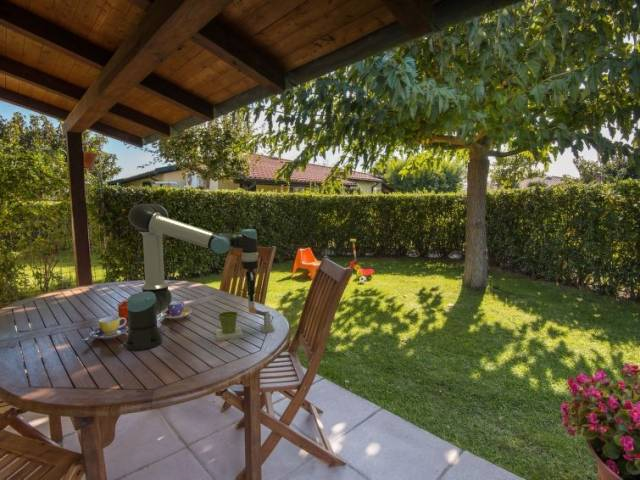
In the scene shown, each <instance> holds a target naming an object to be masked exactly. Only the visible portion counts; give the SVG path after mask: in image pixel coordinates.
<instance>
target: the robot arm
mask: <svg viewBox="0 0 640 480" xmlns="http://www.w3.org/2000/svg"><path fill="white" fill-rule="evenodd" d="M127 216H128V221H129V223H130V224H131V226H133V227H134V228H135V229H138V232H139V233H140V234H141V235H142V246H143V247H142V249H143V261H144V280H145V281H144V282H145V283H144V285H143V286H141V291H139V292H137V293H136V292H135V293H134V294H132V295H130V296H129V297H128V298H127V301H126V302H127V303H126V308H127V309H126V310H127V316H128V317H127V320H128V332H127V336H126V339H125V349H127V350H128V351H132V350H135V351H134V352H136V351H137V352H138V351H145V349H146V350H149V349H153V348H156V347H157V346H159V345H161V344H162V343H163V335H162V333H161V330H160V328H159V326H158V314H160V313H162V312H164V311H165V310H167V308H169V306H170V305H171V303H172V301H173V294H172V292H171V290H169V284H168V283H166V281H165V266H164V246H163V245H164V244H163V235H165V236H169V237H172V238H174V239H178V240H182V241H183V242H188V243H190V244H193V245H197V246H201V247H203V248H206V249H209V250H211V251H213V253H215V254H225V253H227V252H228V251H229V250H236V249H237V250H241V260H242V263H241V264H242V265H241V267H242V269H244V270H246V272H245V276H246V288H247V293H246V295H247V300H248V302H247V305H248V306H247V307H248V309H249V308H251V307H254V308H255V293H256V292H255V280H256V272H255V271H254V270H256V269H258V267H259V263H258V262H259V261H258V258H259V257H258V256H259V255H260V254H259V253H258V234H257V233H258V232H257V230H256V229H253V228H244V229H241V231H240V233H226V232H224V233H216V232H213V231H210V230H207V229H203V228H201V227H197V226H194V225H192V224H189V223H185V222H182V221H179V220H176V219H173V218H170V217H169V213H168V211H167V209H166V208H165V207H164V206H162V205H160V204H156V203H139V204H136V205H134V206H132V207H131V208H130V210H129V211H128V215H127Z"/></svg>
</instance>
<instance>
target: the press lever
mask: <svg viewBox="0 0 640 480" xmlns="http://www.w3.org/2000/svg"><path fill="white" fill-rule="evenodd" d="M248 312H249V314H254V315H260V316H263V317H264V316H265V314H270V312H269V313H268V312H266V311H262V310H257V308H256V307H255V306H254V307H251V308H249V307H248Z"/></svg>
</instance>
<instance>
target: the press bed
mask: <svg viewBox="0 0 640 480" xmlns="http://www.w3.org/2000/svg"><path fill="white" fill-rule="evenodd" d="M215 335H216V341H218V342H219V341H223V340H224V341H225V340H233V339H239V338H243V337H244V334H243V331H242V329H241V326H235V331H234V332H230V333H223V331H222V328H219V329H215Z"/></svg>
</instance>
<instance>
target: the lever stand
mask: <svg viewBox="0 0 640 480" xmlns="http://www.w3.org/2000/svg"><path fill="white" fill-rule="evenodd" d="M265 312H268V313H269V314H265V316H263V325H260V326H259V327H260V328H259V329H260V331H261V332H262V334H266V333H267V334H268V333H274V332H275V331H276V330H275V328H274V326H273V324H272V323H271V313H270V312H269V311H268V310H267V311H265Z"/></svg>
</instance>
